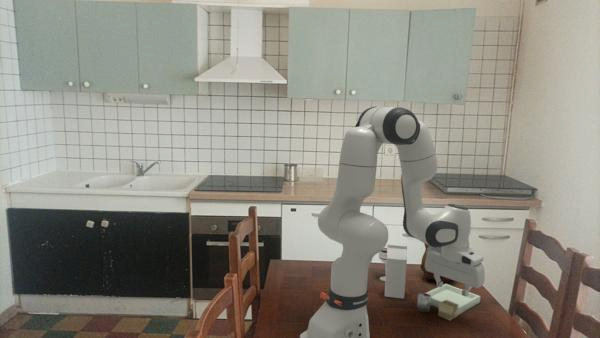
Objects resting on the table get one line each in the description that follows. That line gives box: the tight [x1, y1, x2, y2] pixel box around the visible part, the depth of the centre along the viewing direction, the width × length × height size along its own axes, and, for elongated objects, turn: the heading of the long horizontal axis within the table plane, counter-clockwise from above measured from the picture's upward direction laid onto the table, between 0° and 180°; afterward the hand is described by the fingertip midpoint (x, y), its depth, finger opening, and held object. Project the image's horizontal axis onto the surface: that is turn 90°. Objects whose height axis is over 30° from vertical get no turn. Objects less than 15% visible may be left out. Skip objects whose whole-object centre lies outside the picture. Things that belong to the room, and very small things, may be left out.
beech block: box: [437, 300, 458, 321], centre depth 148 cm, size 4×4×4 cm
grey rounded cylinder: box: [416, 292, 431, 313], centre depth 152 cm, size 4×4×5 cm
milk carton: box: [384, 244, 408, 299], centre depth 163 cm, size 7×7×19 cm
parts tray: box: [425, 283, 481, 316], centre depth 159 cm, size 16×14×2 cm
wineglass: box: [378, 247, 387, 282], centre depth 178 cm, size 7×7×12 cm
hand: (452, 290), depth 148 cm, fingers open, 8 cm apart
